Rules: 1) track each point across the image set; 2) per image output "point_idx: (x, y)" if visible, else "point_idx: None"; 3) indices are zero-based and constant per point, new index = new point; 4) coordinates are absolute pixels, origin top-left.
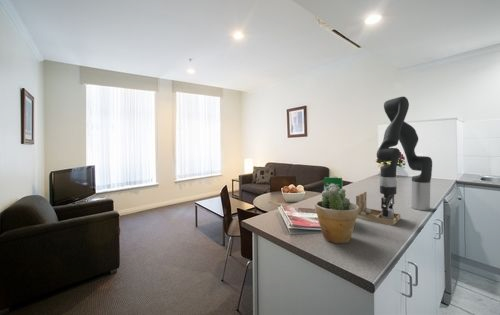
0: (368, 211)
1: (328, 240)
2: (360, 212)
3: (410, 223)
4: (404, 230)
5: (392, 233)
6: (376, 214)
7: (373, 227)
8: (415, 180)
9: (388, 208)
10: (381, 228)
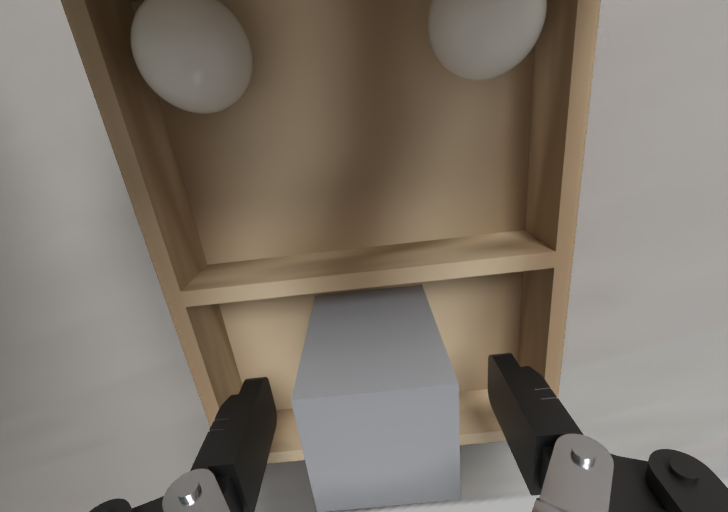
0: (436, 50)
1: None
2: (147, 3)
3: (463, 464)
4: None
5: (80, 457)
6: (513, 151)
7: (44, 311)
8: None
9: (440, 444)
10: (99, 368)
